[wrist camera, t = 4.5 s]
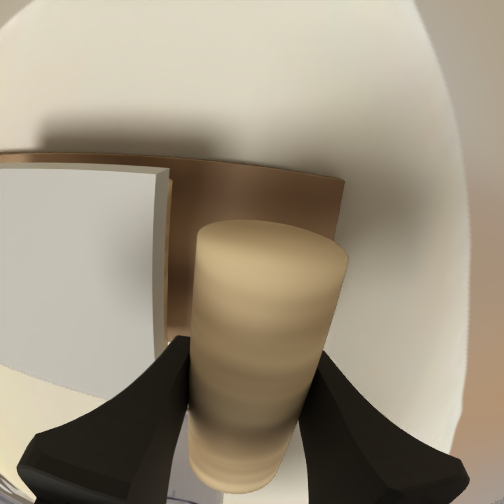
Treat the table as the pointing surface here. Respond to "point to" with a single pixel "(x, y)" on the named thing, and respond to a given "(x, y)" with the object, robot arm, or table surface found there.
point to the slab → (82, 272)
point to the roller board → (216, 209)
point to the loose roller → (255, 344)
